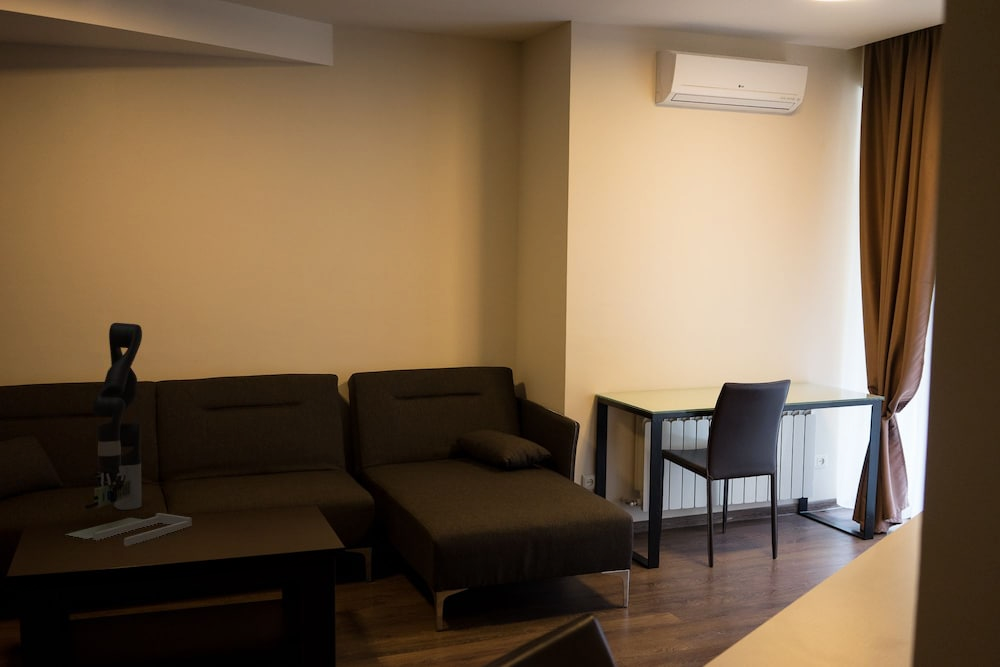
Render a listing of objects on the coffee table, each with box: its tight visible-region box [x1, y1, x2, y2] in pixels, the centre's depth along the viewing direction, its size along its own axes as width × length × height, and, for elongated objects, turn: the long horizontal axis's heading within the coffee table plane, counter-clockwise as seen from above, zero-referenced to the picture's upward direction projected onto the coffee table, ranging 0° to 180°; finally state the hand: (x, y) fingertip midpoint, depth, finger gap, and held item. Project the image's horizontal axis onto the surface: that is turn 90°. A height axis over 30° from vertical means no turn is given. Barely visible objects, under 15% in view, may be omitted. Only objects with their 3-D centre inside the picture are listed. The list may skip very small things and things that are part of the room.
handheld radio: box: [84, 478, 131, 510], centre depth 324 cm, size 7×3×25 cm
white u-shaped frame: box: [92, 512, 193, 547], centre depth 318 cm, size 16×28×4 cm, turn 154°
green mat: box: [64, 517, 144, 540], centre depth 324 cm, size 11×28×1 cm, turn 154°
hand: (109, 501), depth 324 cm, fingers closed on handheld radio, 3 cm apart
